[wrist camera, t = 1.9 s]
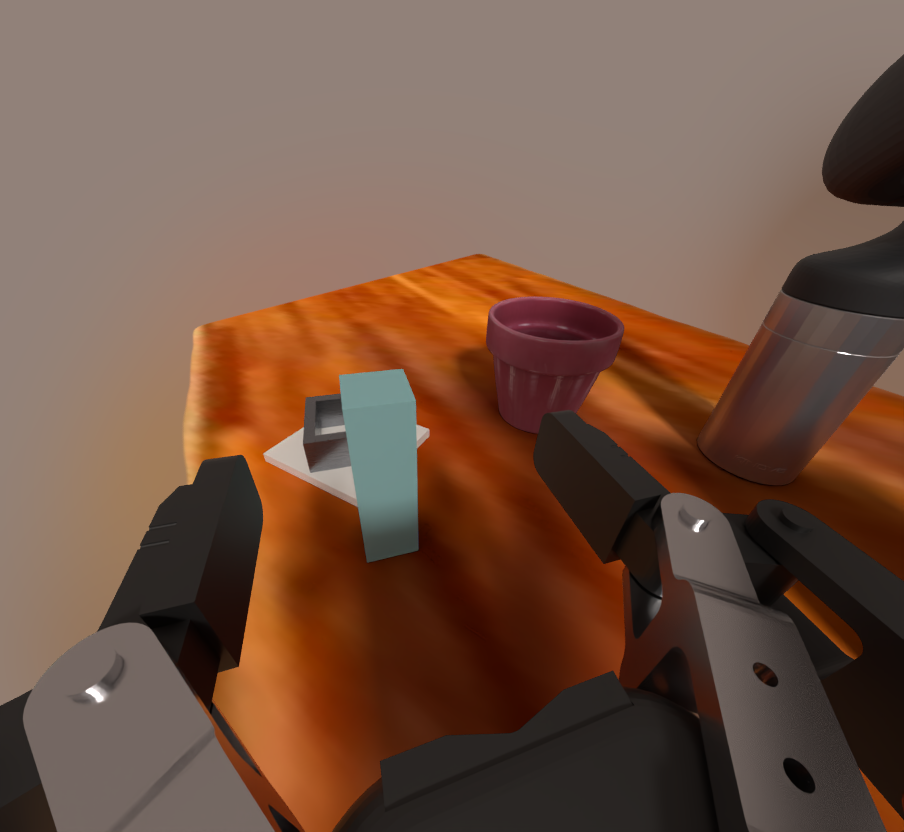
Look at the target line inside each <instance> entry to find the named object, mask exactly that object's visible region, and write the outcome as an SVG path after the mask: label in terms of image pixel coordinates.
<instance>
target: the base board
mask: <svg viewBox="0 0 904 832" xmlns="http://www.w3.org/2000/svg"><path fill="white" fill-rule="evenodd" d="M344 431H346V430H345V425H342V426H334V427H327V428H321V435H323V434H330V433H337V432H344ZM303 433H304V427H303V428H302V429H300V430H299V431H297V432H296V433H294V434H293V435H291V436H289V437H288V438H286V439H285V440H283V441H282V442H280V443H279V444H277V445H276V446H274V447H272V448H271V449H269V450H268V451H266V452H265V453H263V455H264V457H265V460H266V461H267V462H269V463H271V464H273V465H275V466H277V467H279V468H281V469H283V470H285V471H287V472H289V473H291V474H293V475H295V476H297V477H299V478H301V479H303V480H305V481H307V482H309V483H311V484H313V485H315V486H317V487H319V488H321V489H323V490H325V491H327V492H329V493H331V494H333V495H335V496H337V497H339V498H341V499H343V500H345V501H347V502H349V503H351V504H353V505H355V506H357V507H358V504H357V498H356V491H355V485H354V479H353V473H352V467H351V466H350V467H344V468H337V469H331V470H325V471H319V472H313V473H310V470H309V466H308V463H307V459H306V455H305V451H304V447H303ZM416 437H417V448H418V447H419V446H420V445H421V444H422V443H423V442H424V441H425V440H426V439H427V438H428V437H429V429H427V428H424V427H422V426H419V425H416Z"/></svg>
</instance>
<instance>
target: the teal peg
mask: <svg viewBox="0 0 904 832" xmlns="http://www.w3.org/2000/svg"><path fill="white" fill-rule="evenodd" d="M339 378H340V390H341V401H342V411H343V417H344V423H345V430H346V436H347V442H348V448H349V454H350V461H351V467H352V473H353V479H354V485H355V491H356V498H357V504H358V510H359V516H360V522H361V529H362V535H363V541H364V547H365V553H366V559H367V563H368V562H372V561H377V560H381V559H385V558H389V557H393V556H397V555H402V554H406V553H410V552H414V551H418V550H419V549H418V493H417V437H416V400H415V397H414V395H413V392H412V390H411V388H410V385H409V383H408V380H407V378H406V375H405V373H404V370H403V369H397V370H387V371H377V372H366V373H356V374H346V375H339Z"/></svg>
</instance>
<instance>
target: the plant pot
mask: <svg viewBox="0 0 904 832" xmlns="http://www.w3.org/2000/svg"><path fill="white" fill-rule="evenodd" d="M623 332H624V325H623V323H622V322H621V321H620V320H619V319H618V318H617V317H616V316H614V315H613V314H611V313H609V312H607V311H605V310H603V309H600V308H598V307H595V306H592V305H589V304H586V303H582V302H577V301H573V300H567V299H560V298H551V297H520V298H513V299H508V300H504V301H501V302H499V303H497V304H495V305H494V306H493V307H492V308H491V309H490V311H489V316H488V325H487V336H486V344H487V347H488V349H489V350H490V352H491V353H492V354H493V356H494V369H495V379H496V388H497V396H498V405H499V412H500V414H501V416H502V418H503V419H504V420H505V421H506V422H507V423H509V424H510V425H512V426H514V427H515V428H518V429H520V430H523V431H526V432H530V433H537V434H538V432H539V428H540V424H541V420H542V417H543V415H544V414H546V413H550V412H557V411H564V410H571V411H573V412H574V413H576V412H577V411H578V409H579V407H580V406H581V404H582V403H583V401H584V399H585V398H586V396H587V394H588V393H589V391H590V389H591V388H592V386H593V384H594V382H595V381H596V379H597V377H598V375H599V373H600V372H601V371H603V370H605V369H607V368H608V367H610V366H611V365H612V363H613V362H614V360H615V357H616V355H617V352H618V349H619V346H620V343H621V339H622V336H623Z"/></svg>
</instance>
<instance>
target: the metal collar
mask: <svg viewBox="0 0 904 832" xmlns="http://www.w3.org/2000/svg"><path fill="white" fill-rule="evenodd" d="M342 425H345V423H344V417H343V411H342V401H341V394H334V395H325V396H316V397H307V398H306V403H305V418H304V433H303V447H304V451H305V455H306V459H307V463H308V466H309V470H310V473H313V472H319V471H325V470H331V469H337V468H344V467H350V466H351V461H350V454H349V448H348V442H347V436H346V431H344V432H337V433H330V434H323V435H321V428H327V427H334V426H342Z"/></svg>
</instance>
